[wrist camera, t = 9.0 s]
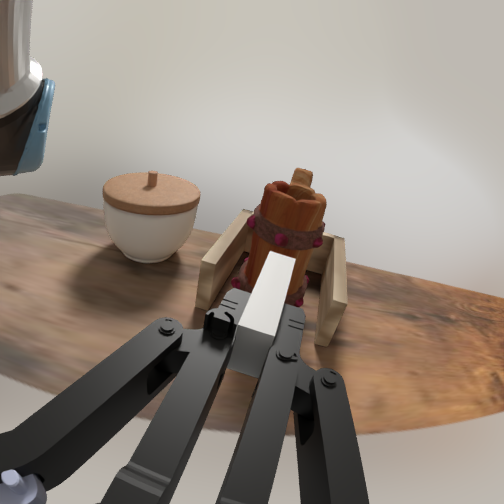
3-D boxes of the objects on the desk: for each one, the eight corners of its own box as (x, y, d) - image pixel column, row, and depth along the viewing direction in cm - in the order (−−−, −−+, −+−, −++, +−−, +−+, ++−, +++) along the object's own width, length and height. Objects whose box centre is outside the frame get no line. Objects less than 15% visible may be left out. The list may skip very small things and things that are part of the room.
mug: (291, 341, 33) (338, 208, 26) (219, 317, 34) (245, 181, 27) (307, 275, 46) (339, 174, 39) (253, 258, 47) (277, 156, 40)
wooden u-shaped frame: (195, 306, 35) (201, 260, 32) (235, 245, 50) (243, 209, 47) (327, 347, 33) (347, 303, 31) (331, 273, 48) (344, 238, 45)
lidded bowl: (123, 223, 48) (127, 155, 43) (199, 238, 49) (210, 168, 44) (87, 262, 37) (85, 179, 32) (180, 284, 38) (191, 196, 33)
